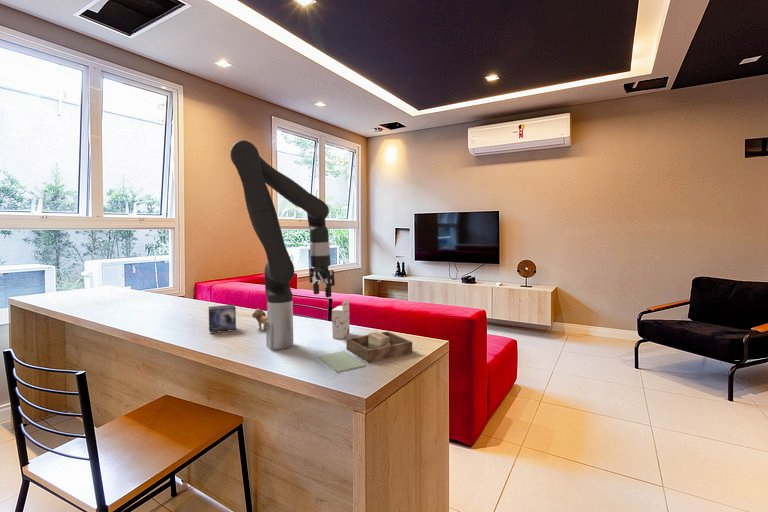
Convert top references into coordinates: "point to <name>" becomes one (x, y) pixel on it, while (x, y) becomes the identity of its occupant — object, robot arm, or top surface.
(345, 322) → the ink cartridge box
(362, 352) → the slot box
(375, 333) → the maple block
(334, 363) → the mat
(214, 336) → the top surface
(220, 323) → the small box
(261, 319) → the lion figurine
